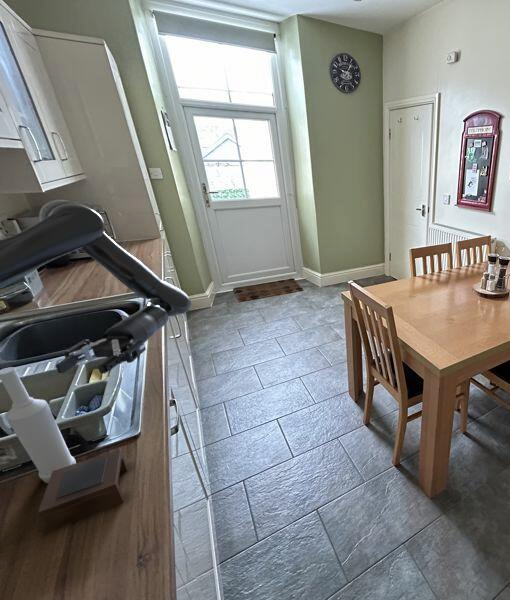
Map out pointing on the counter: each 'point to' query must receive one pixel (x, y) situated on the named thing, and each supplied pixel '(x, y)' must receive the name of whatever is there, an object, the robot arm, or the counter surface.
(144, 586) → the counter surface
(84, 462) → the dark wooden pedestal
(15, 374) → the bottle
